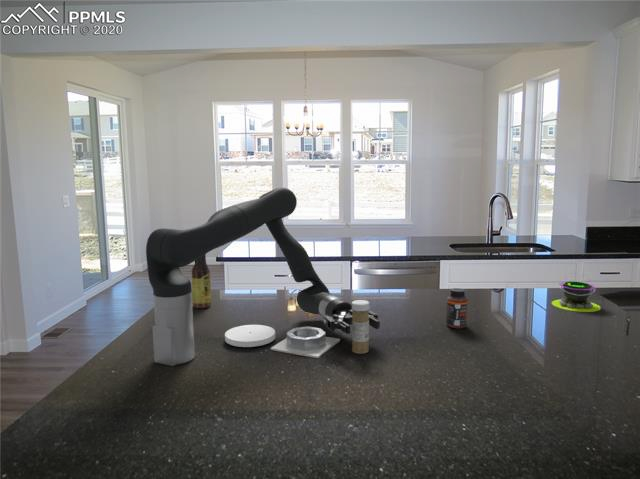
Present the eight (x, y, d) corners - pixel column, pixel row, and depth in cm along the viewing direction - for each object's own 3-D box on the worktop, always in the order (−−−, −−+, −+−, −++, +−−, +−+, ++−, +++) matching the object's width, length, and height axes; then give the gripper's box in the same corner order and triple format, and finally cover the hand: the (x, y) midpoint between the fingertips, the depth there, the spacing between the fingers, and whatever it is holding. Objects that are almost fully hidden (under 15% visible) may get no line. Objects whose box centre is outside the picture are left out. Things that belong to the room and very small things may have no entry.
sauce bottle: (208, 309, 170) (206, 251, 167) (190, 309, 170) (187, 252, 167) (213, 303, 176) (211, 248, 173) (195, 303, 176) (193, 248, 173)
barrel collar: (314, 352, 129) (314, 341, 128) (281, 346, 133) (281, 335, 133) (330, 340, 138) (330, 329, 137) (298, 335, 142) (298, 325, 141)
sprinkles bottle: (360, 346, 134) (360, 298, 132) (372, 351, 130) (373, 301, 128) (348, 350, 131) (348, 301, 129) (360, 356, 128) (360, 305, 126)
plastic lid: (214, 345, 137) (214, 336, 136) (244, 330, 149) (244, 322, 149) (256, 354, 130) (256, 344, 130) (284, 337, 143) (284, 328, 142)
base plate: (318, 358, 126) (318, 356, 126) (270, 349, 132) (270, 348, 132) (339, 340, 139) (340, 338, 139) (295, 333, 145) (295, 331, 145)
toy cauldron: (555, 310, 166) (557, 278, 164) (548, 298, 180) (550, 268, 178) (605, 313, 161) (608, 280, 160) (594, 301, 176) (597, 271, 174)
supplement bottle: (462, 330, 146) (463, 293, 144) (442, 326, 150) (444, 290, 148) (469, 325, 151) (470, 289, 149) (450, 321, 154) (451, 286, 153)
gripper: (313, 301, 139) (339, 317, 125) (358, 295, 145) (387, 310, 130) (313, 327, 140) (339, 345, 126) (357, 320, 146) (387, 337, 131)
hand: (363, 327), depth 128 cm, fingers open, 8 cm apart
